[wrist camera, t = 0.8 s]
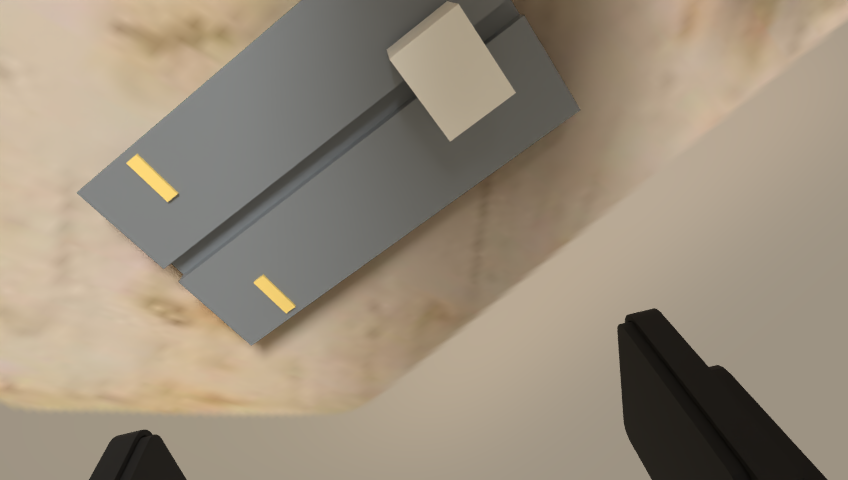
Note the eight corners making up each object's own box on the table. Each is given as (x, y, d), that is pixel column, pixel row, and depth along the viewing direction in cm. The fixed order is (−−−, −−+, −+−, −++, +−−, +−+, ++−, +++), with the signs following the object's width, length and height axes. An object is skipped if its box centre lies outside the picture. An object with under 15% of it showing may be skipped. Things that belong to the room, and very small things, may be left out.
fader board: (436, -113, 28) (443, -122, 26) (566, 101, 34) (581, 110, 32) (96, 178, 33) (74, 194, 31) (258, 324, 39) (250, 347, 36)
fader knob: (444, 0, 29) (458, 3, 25) (494, 76, 31) (515, 92, 27) (385, 47, 30) (389, 59, 25) (438, 119, 32) (450, 141, 27)
